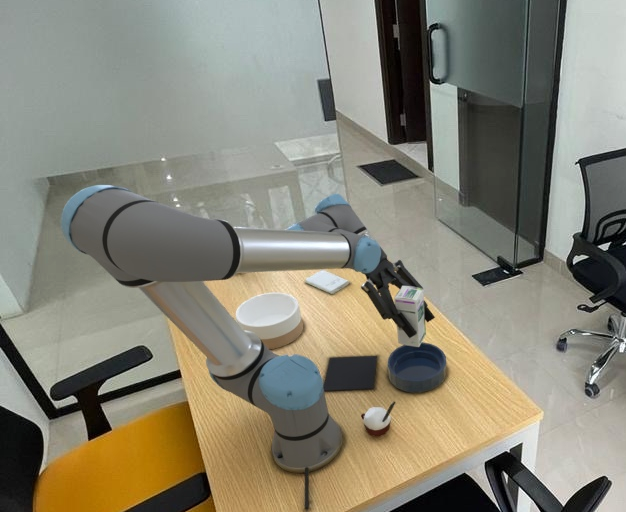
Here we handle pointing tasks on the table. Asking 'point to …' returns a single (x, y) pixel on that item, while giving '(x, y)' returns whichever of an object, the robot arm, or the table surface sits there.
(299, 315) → the bowl
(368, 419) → the cocoa
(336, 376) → the mat
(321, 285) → the hard drive
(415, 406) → the table surface
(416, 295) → the syrup box
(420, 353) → the serving bowl
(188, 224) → the robot arm
